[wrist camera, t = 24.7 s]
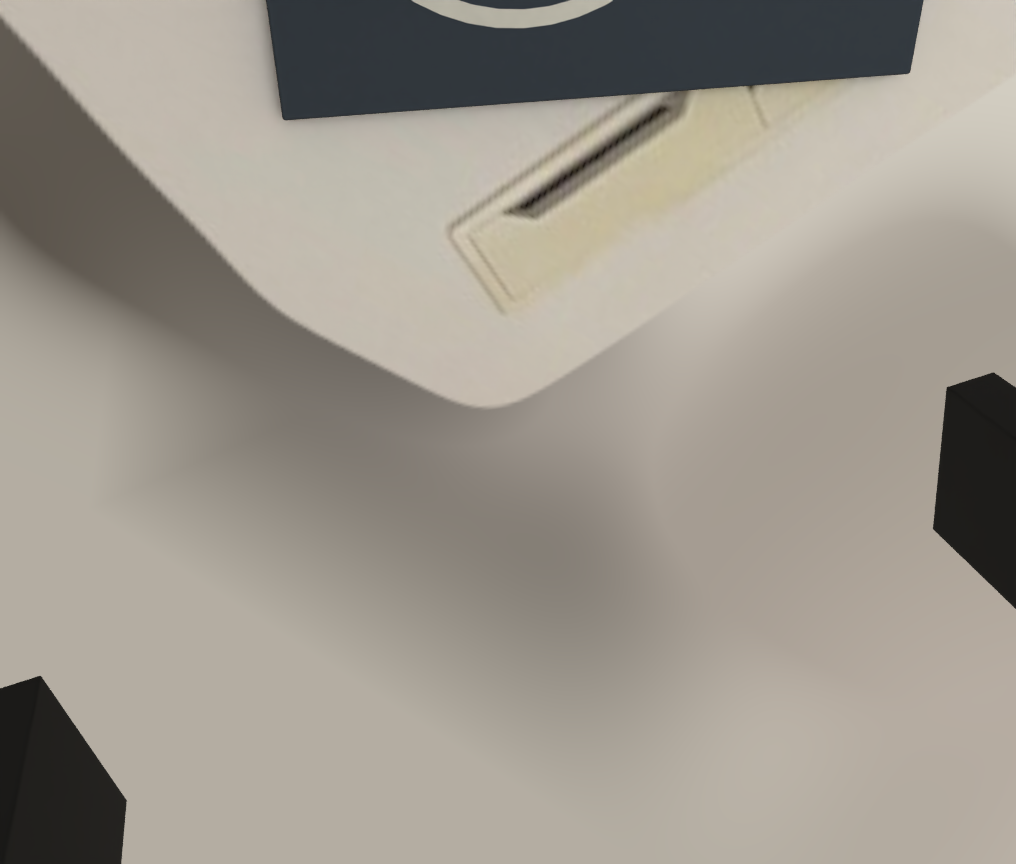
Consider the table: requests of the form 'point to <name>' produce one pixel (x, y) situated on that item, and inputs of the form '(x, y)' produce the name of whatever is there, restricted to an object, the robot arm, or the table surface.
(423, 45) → the desk pad
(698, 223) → the table surface
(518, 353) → the table surface
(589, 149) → the table surface
